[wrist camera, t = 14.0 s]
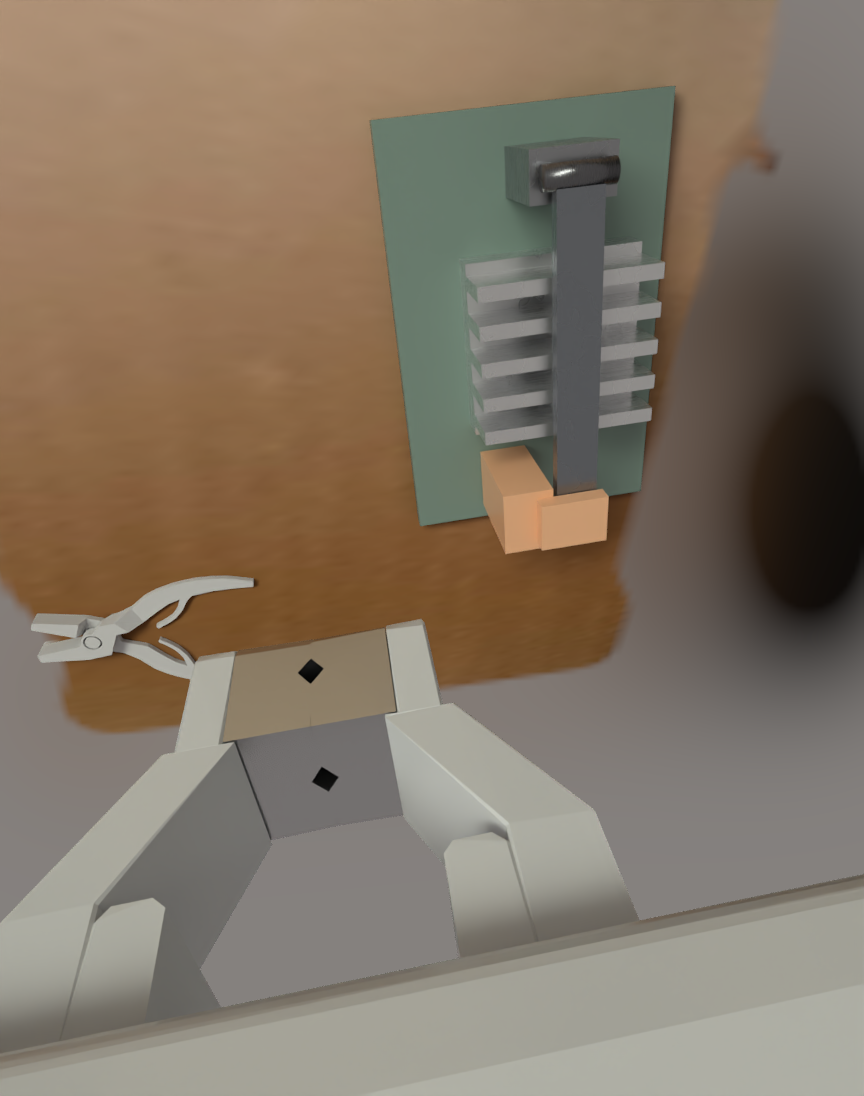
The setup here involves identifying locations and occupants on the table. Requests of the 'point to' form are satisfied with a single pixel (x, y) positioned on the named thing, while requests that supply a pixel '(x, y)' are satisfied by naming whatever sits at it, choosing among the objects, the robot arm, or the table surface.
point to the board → (492, 228)
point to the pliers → (129, 627)
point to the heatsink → (550, 316)
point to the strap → (577, 313)
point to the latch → (537, 505)
